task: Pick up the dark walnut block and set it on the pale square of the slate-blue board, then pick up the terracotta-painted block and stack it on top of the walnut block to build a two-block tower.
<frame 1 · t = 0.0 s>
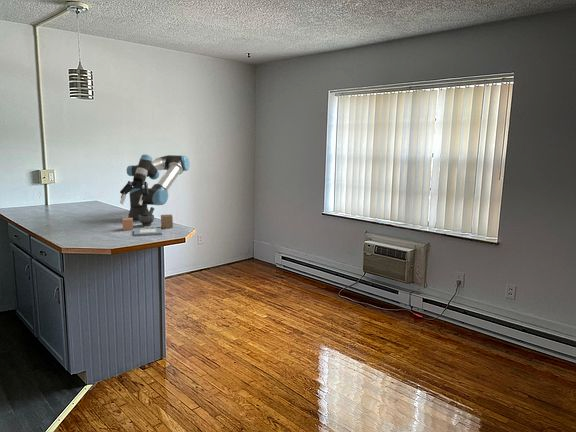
hand: (130, 204, 286), 15 cm above the countertop, tool tilted 35°, fingers open, 13 cm apart
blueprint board: (148, 232, 272), on the countertop
walnut block: (167, 227, 289), on the countertop
terracotta block: (128, 229, 282), on the countertop
mortar and pestle: (147, 225, 295), on the countertop
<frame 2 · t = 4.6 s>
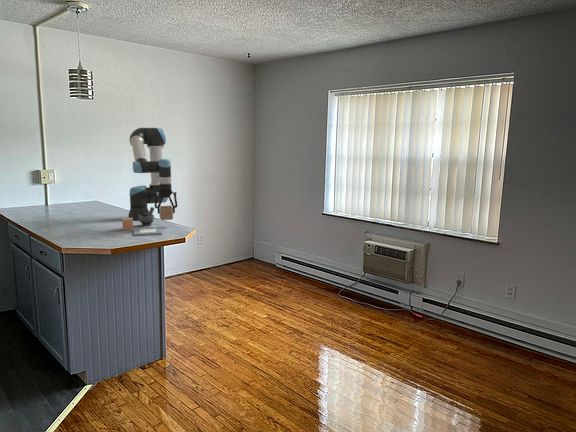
hand: (166, 218, 289), 6 cm above the countertop, tool pointing down, fingers closed on walnut block, 7 cm apart
walnut block: (166, 218, 289), point 6 cm above the countertop, touching gripper
everything else where it was.
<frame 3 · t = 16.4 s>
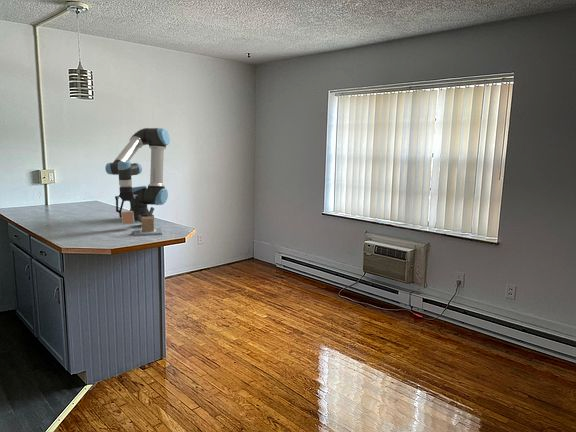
hand: (128, 222, 282), 5 cm above the countertop, tool pointing down, fingers closed on terracotta block, 6 cm apart
walnut block: (148, 230, 272), point 1 cm above the countertop, touching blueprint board
terracotta block: (128, 222, 282), point 4 cm above the countertop, touching gripper
everything else where it was.
when the fingers open (10 cm above the countertop, at t = 21.7 s): terracotta block stays where it is, resting on walnut block.
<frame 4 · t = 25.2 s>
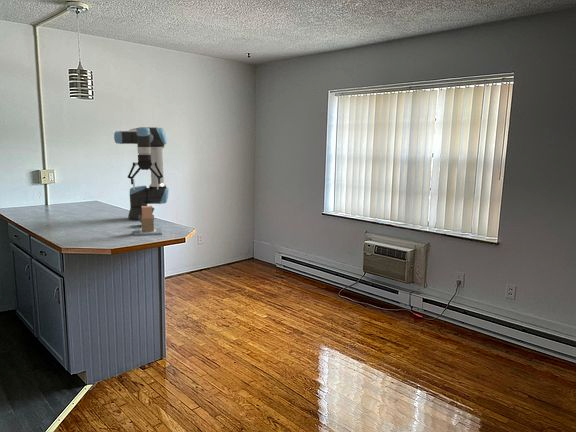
hand: (146, 189, 268), 27 cm above the countertop, tool pointing down, fingers open, 13 cm apart
walnut block: (148, 230, 272), point 1 cm above the countertop, touching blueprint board, terracotta block
terracotta block: (147, 217, 271), point 9 cm above the countertop, touching walnut block
everything else where it was.
at the end: walnut block 0.2 cm off-centre on the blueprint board, point 1.3 cm above the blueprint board's base; terracotta block 0.1 cm off-centre on the walnut block, point 8.0 cm above the walnut block's base; terracotta block tilted 0° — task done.
